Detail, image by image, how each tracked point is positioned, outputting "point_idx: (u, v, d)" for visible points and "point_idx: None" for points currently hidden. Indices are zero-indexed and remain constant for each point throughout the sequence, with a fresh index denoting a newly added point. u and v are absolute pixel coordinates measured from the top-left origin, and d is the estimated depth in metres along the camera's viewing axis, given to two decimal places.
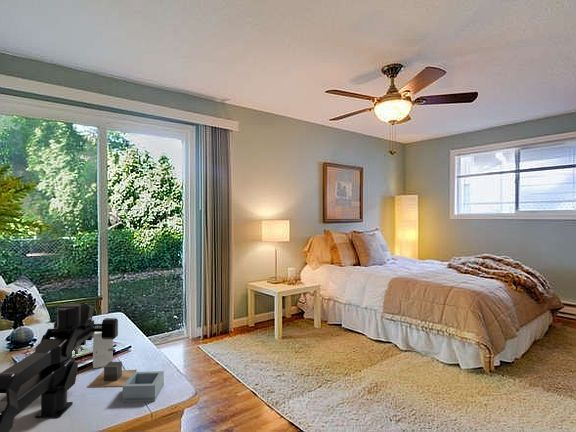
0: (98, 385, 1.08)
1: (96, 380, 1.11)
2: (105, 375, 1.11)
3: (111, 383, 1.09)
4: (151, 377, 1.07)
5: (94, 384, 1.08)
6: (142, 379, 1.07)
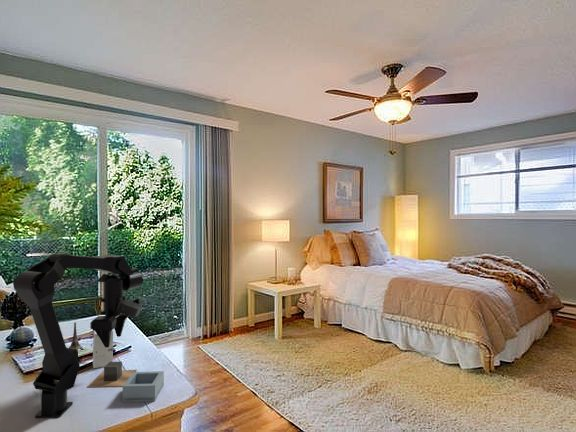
0: (98, 385, 1.08)
1: (96, 380, 1.11)
2: (105, 375, 1.11)
3: (111, 383, 1.09)
4: (151, 377, 1.07)
5: (94, 384, 1.08)
6: (142, 379, 1.07)
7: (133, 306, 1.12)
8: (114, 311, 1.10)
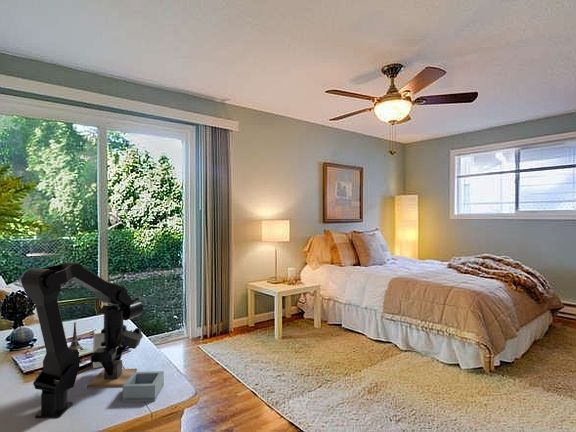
0: (98, 383, 1.08)
1: (96, 378, 1.11)
2: (105, 373, 1.11)
3: (111, 381, 1.09)
4: (151, 377, 1.07)
5: (94, 382, 1.09)
6: (142, 379, 1.07)
7: (133, 337, 1.12)
8: (114, 342, 1.10)
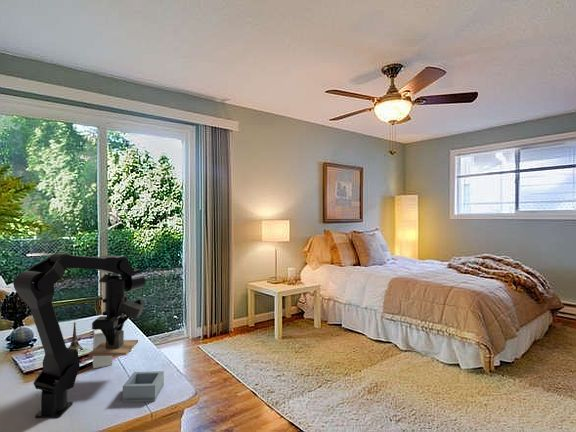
0: (100, 352, 1.08)
1: (98, 348, 1.11)
2: (107, 343, 1.10)
3: (113, 350, 1.09)
4: (151, 377, 1.07)
5: (96, 351, 1.08)
6: (142, 379, 1.07)
7: (135, 307, 1.11)
8: (116, 312, 1.10)
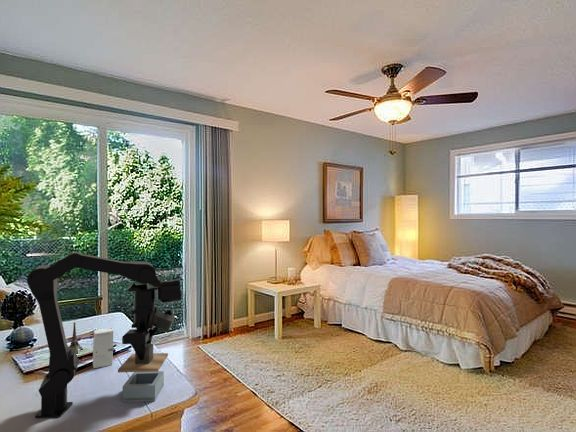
0: (130, 367, 0.99)
1: (126, 363, 1.02)
2: (136, 357, 1.02)
3: (143, 366, 1.00)
4: (151, 377, 1.07)
5: (125, 367, 1.00)
6: (142, 379, 1.07)
7: (166, 318, 1.03)
8: (146, 324, 1.01)
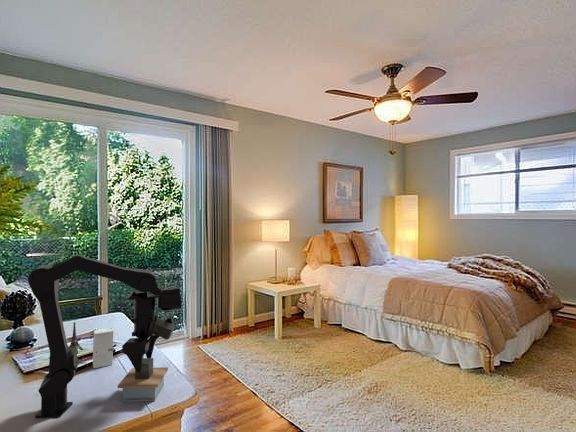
0: (129, 383, 0.99)
1: (126, 378, 1.02)
2: (136, 372, 1.02)
3: (143, 381, 1.00)
4: None
5: (125, 382, 0.99)
6: None
7: (166, 327, 1.03)
8: (146, 332, 1.01)
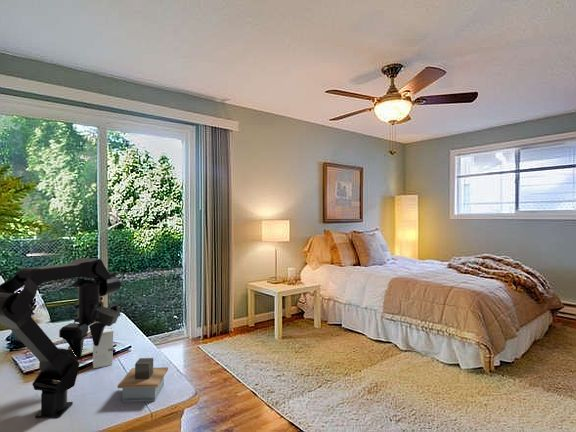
0: (129, 383, 0.99)
1: (126, 378, 1.02)
2: (136, 372, 1.02)
3: (143, 381, 1.00)
4: None
5: (125, 382, 0.99)
6: None
7: (108, 313, 1.04)
8: (88, 318, 1.03)
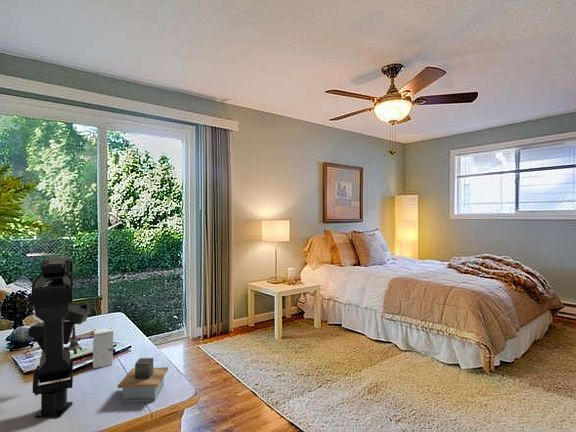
0: (129, 383, 0.99)
1: (126, 378, 1.02)
2: (136, 372, 1.02)
3: (143, 381, 1.00)
4: None
5: (125, 382, 0.99)
6: None
7: (78, 312, 1.05)
8: None
